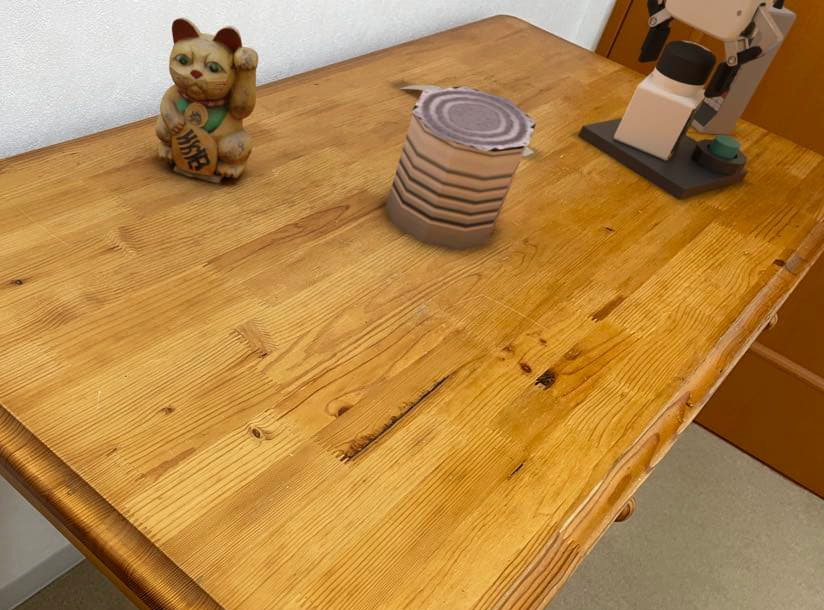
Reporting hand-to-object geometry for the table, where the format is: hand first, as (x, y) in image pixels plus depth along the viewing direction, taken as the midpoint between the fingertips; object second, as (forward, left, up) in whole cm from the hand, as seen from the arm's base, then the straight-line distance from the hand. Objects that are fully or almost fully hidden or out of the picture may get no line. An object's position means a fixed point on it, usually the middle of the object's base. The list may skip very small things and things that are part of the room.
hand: (678, 78), depth 101 cm
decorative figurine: (+14, +57, -10) cm, 59 cm away
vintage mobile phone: (+2, -18, -10) cm, 21 cm away
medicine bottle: (0, 0, -8) cm, 8 cm away
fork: (+14, +19, -10) cm, 26 cm away
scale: (-2, -1, -10) cm, 10 cm away
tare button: (-7, -5, -7) cm, 11 cm away
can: (-3, +39, -10) cm, 40 cm away
